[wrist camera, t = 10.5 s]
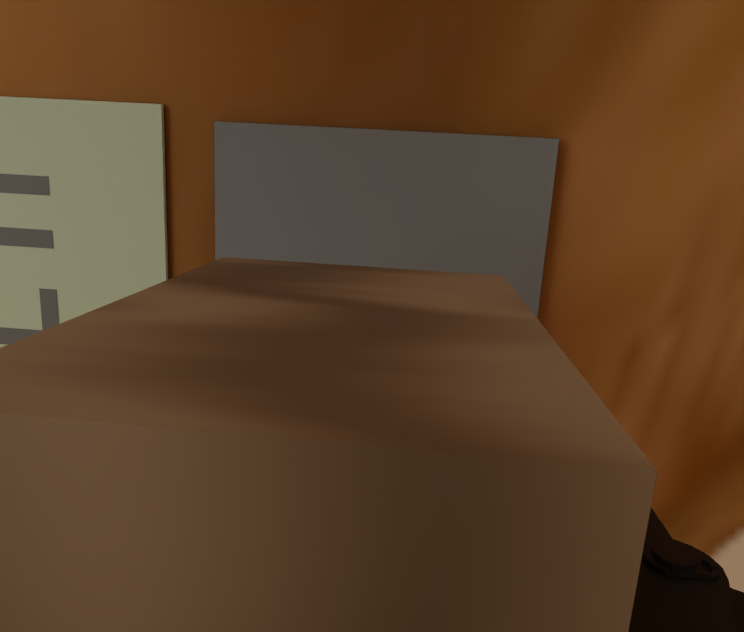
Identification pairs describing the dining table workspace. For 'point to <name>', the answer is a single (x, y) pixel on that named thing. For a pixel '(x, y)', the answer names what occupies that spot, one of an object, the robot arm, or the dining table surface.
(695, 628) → the robot arm
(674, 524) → the dining table surface
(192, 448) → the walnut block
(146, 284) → the tile
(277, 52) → the dining table surface
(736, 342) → the dining table surface
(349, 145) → the mat
